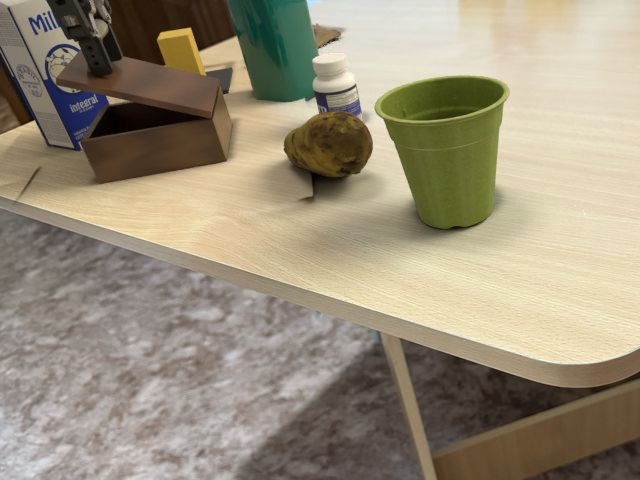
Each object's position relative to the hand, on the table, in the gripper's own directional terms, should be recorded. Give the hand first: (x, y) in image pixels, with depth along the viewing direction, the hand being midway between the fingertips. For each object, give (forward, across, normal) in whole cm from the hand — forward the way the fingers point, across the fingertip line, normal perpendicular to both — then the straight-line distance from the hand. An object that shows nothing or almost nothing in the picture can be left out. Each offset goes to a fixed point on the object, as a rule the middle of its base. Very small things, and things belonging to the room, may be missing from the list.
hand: (109, 66), depth 78 cm
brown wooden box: (+12, 0, +3) cm, 12 cm away
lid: (+3, 0, +3) cm, 4 cm away
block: (+11, -29, +2) cm, 31 cm away
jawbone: (+12, -43, +17) cm, 48 cm away
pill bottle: (+12, +1, +24) cm, 27 cm away
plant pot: (+12, +28, +33) cm, 45 cm away
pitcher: (+12, -17, +17) cm, 27 cm away
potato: (+12, +15, +22) cm, 29 cm away
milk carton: (+11, -11, -10) cm, 19 cm away
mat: (+12, -29, +2) cm, 31 cm away
